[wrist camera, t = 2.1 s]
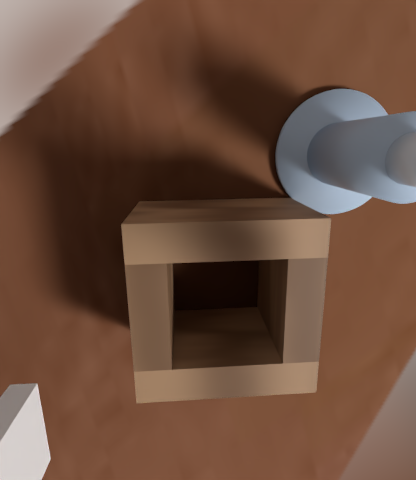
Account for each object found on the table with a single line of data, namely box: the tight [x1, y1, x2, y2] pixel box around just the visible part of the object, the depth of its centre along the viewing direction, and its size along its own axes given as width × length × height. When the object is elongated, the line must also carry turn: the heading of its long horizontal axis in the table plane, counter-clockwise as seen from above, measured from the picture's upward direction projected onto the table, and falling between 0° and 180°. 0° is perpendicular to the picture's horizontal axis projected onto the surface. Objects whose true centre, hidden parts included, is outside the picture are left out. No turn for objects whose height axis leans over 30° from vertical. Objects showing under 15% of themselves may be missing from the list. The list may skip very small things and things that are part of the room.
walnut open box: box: [121, 198, 331, 403], centre depth 18 cm, size 9×9×6 cm
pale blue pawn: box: [275, 89, 416, 214], centre depth 16 cm, size 7×7×9 cm
